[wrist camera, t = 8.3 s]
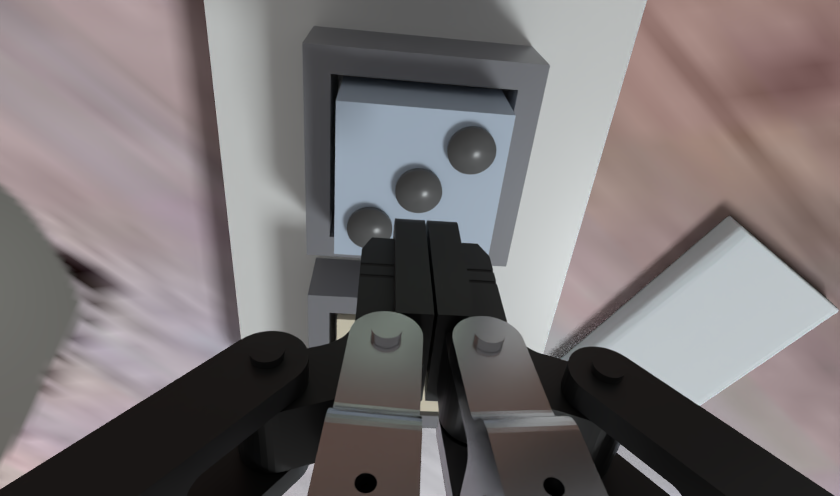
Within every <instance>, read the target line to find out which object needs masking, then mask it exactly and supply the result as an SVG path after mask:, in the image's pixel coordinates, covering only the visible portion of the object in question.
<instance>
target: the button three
mask: <svg viewBox="0 0 840 496" xmlns="http://www.w3.org/2000/svg"><path fill="white" fill-rule="evenodd" d="M515 117H516V115H515V113H514V111H513V110H512V108H511V106H510V104H509V102H508V101H507V99H506V97H505V95H504V93H503V92H502V90H501V89H489V88H478V87H466V86H454V85H443V84H431V83H420V82H408V81H396V80H385V79H373V78H362V77H350V76H343V79H342V83H341V86H340V89H339V92H338V95H337V99H336V129H335V215H334V254H344V255H361V253H362V248H363V247H364V246H365V245H366V244H367V242H368V241H369V240H370V239H371V238H372V237H374V238H391V239H393V231H394V221H395V218H398V219H414V220H425V224H426V222H427V220H431V221H446V222H457V223H458V227H459V233H460V238H461V243H474V244H478V245H479V246H480V247H481V248H482V249H483V250H484V251H485V252H486V253H487V254H488V255H489V250H490V245H491V240H492V235H493V230H494V225H495V220H496V214H497V209H498V204H499V199H500V194H501V189H502V184H503V179H504V173H505V168H506V163H507V158H508V153H509V148H510V143H511V138H512V132H513V127H514V122H515Z"/></svg>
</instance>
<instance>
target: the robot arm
mask: <svg viewBox="0 0 840 496" xmlns="http://www.w3.org/2000/svg"><path fill="white" fill-rule="evenodd" d="M424 390H425V401H438V409H439V416H438V422H437V428H436V437H437V443H438V449H439V455H440V461H441V467H442V473H443V479H444V485H445V491H446V496H670V495H669V494H668V493H666V492H665V491H664V490H663V489H661V488H660V487H659V486H658V485H656V484H655V483H654V482H653V481H651V480H650V479H649V478H648V477H646V476H645V475H644V474H643V473H641V472H640V471H639V470H638V469H636V468H635V467H634V466H633V465H631V464H630V463H629V462H628V461H626V460H625V459H624V458H623V457H621V456H620V455H619V454H618V453H616V452H617V450H618V448H619V446H620V444H621V445H622V446H624V447H625V448H626V449H627V450H629V451H630V452H631V453H633V454H634V455H635V456H636V457H638V458H639V459H640V460H641V461H643V462H644V463H645V464H647V465H648V466H649V467H650V468H652V469H653V470H654V471H655V472H657V473H658V474H659V475H661V476H662V477H663V478H664V479H666V480H667V481H668V482H670V483H671V484H672V485H673V486H674V487H675V488H676V489H677V490H678V491H679V492H680V494H681V495H682V496H834V495H832V494H831V493H829V492H828V491H826V490H825V489H823V488H822V487H820V486H819V485H817V484H816V483H814V482H813V481H811V480H810V479H808V478H807V477H805V476H804V475H802V474H801V473H799V472H798V471H796V470H795V469H793V468H792V467H790V466H789V465H787V464H786V463H784V462H783V461H781V460H780V459H778V458H777V457H775V456H774V455H772V454H771V453H769V452H768V451H766V450H765V449H763V448H762V447H760V446H759V445H757V444H756V443H754V442H753V441H751V440H750V439H748V438H747V437H745V436H744V435H742V434H741V433H739V432H738V431H736V430H735V429H733V428H732V427H730V426H729V425H727V424H726V423H724V422H723V421H721V420H720V419H718V418H717V417H715V416H714V415H712V414H711V413H709V412H708V411H706V410H705V409H703V408H702V407H700V406H699V405H697V404H696V403H694V402H693V401H691V400H690V399H688V398H687V397H685V396H684V395H682V394H681V393H679V392H678V391H676V390H675V389H673V388H672V387H670V386H669V385H667V384H666V383H664V382H663V381H661V380H660V379H658V378H657V377H655V376H654V375H652V374H651V373H649V372H648V371H646V370H645V369H643V368H642V367H640V366H639V365H637V364H636V363H634V362H633V361H631V360H630V359H628V358H627V357H625V356H623V355H622V354H620V353H618V352H616V351H613V350H610V349H607V348H603V347H596V346H589V347H583V348H580V349H578V350H576V351H574V352H573V353H572V354H571V356H570V357H569V360H568V361H565V360H562V359H558V358H554V357H551V356H547V355H544V354H541V353H538V352H536V351H534V350H531V349H530V348H528V347H526V344H525V342H524V339H523V337H522V336H521V334H520V333H519V332H518V330H516V329H515V328H514V327H513V326H512V325H510V324H509V323H507V319H506V316H505V312H504V308H503V305H502V301H501V297H500V293H499V290H498V286H497V284H496V279H495V275H494V273H493V268H492V264H491V260H490V256H489V255H488V254H487V253H486V252H485V251H484V250H483V249H482V248H481V247H480V246H479V245H478V244H474V243H461V238H460V233H459V227H458V223H457V222H446V221H431V220H427V222H426V224H425V220H414V219H398V218H395V221H394V231H393V239H391V238H374V237H372V238H371V239H370V240H369V241H368V242H367V244H366V245H365V246H364V247H363V248H362V253H361V265H360V275H359V286H358V296H357V307H356V318H355V322H354V323H353V325H352V326H351V328H350V331H349V332H348V333H347V334H346V335H344V336H343V337H342V338H340V339H338V340H336V341H334V342H331V343H329V344H325V345H321V346H316V347H311V348H307V347H306V345H305V344H304V343H303V342H302V340H300V339H299V338H298V337H296V336H294V335H292V334H289V333H286V332H281V331H264V332H258V333H254V334H252V335H249V336H247V337H245V338H243V339H241V340H239V341H238V342H236V343H235V344H233V345H231V346H230V347H228V348H227V349H225V350H223V351H222V352H220V353H219V354H217V355H215V356H214V357H212V358H211V359H209V360H207V361H206V362H204V363H202V364H201V365H199V366H198V367H196V368H194V369H193V370H191V371H190V372H188V373H186V374H185V375H183V376H182V377H180V378H178V379H177V380H175V381H174V382H172V383H170V384H169V385H167V386H166V387H164V388H162V389H161V390H159V391H158V392H156V393H154V394H153V395H151V396H150V397H148V398H146V399H145V400H143V401H141V402H140V403H138V404H137V405H135V406H133V407H132V408H130V409H129V410H127V411H125V412H124V413H122V414H121V415H119V416H117V417H116V418H114V419H113V420H111V421H109V422H108V423H106V424H105V425H103V426H101V427H100V428H98V429H97V430H95V431H93V432H92V433H90V434H89V435H87V436H85V437H84V438H82V439H80V440H79V441H77V442H76V443H74V444H72V445H71V446H69V447H68V448H66V449H64V450H63V451H61V452H60V453H58V454H56V455H55V456H53V457H52V458H50V459H48V460H47V461H45V462H44V463H42V464H40V465H39V466H37V467H36V468H34V469H32V470H31V471H29V472H27V473H26V474H24V475H23V476H21V477H19V478H18V479H16V480H15V481H13V482H11V483H10V484H8V485H7V486H5V487H3V488H2V489H0V496H282V495H283V494H284V493H285V492H286V491H287V490H288V489H289V488H290V487H291V486H292V485H293V484H295V483H296V482H297V481H298V480H299V479H300V478H301V477H302V476H303V474H304V473H305V472H306V470H307V468H308V466H309V464H313V463H315V464H314V469H313V473H312V477H311V482H310V486H309V490H308V495H307V496H420V472H421V445H422V416H420V402H421V401H422V398H423V391H424Z"/></svg>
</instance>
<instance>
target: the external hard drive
mask: <svg viewBox="0 0 840 496" xmlns="http://www.w3.org/2000/svg"><path fill="white" fill-rule="evenodd" d="M838 311H839V309H838V308H837V307H836V306H835V305H833V304H832V303H831V302H830V301H829V300H828V299H827V298H826V297H825V296H823V295H822V294H821V293H820V292H819V291H818V290H816V289H815V288H814V287H813V286H812V285H810V284H809V283H808V282H807V281H806V280H805V279H803V278H802V277H801V276H800V275H799V274H798V273H796V272H795V271H794V270H793V269H792V268H790V267H789V266H788V265H787V264H786V263H785V262H783V261H782V260H781V259H780V258H779V257H778V256H776V255H775V254H774V253H773V252H772V251H771V250H769V249H768V248H767V247H766V246H765V245H764V244H762V243H761V242H760V241H759V240H758V239H756V238H755V237H754V236H753V235H752V234H751V233H750V232H748V231H747V230H746V229H745V228H744V227H743V226H741V225H740V224H739V223H738V222H737V221H736V220H734V219H733V218H732V217H731V216H728V217H726V218H725V219H724V220H723V221H722V222H720V223H719V224H718V225H717V226H716V227H715V228H713V229H712V230H711V231H710V232H709V233H708V234H706V235H705V236H704V237H703V238H702V239H700V240H699V241H698V242H697V243H696V244H695V245H693V246H692V247H691V248H690V249H689V250H688V251H686V252H685V253H684V254H683V255H682V256H681V257H679V258H678V259H677V260H676V261H675V262H674V263H672V264H671V265H670V266H669V267H668V268H666V269H665V270H664V271H663V272H662V273H661V274H659V275H658V276H657V277H656V278H655V279H653V280H652V281H651V282H650V283H649V284H648V285H646V286H645V287H644V288H643V289H642V290H640V291H639V292H638V293H637V294H636V295H635V296H634V297H632V298H631V299H630V300H629V301H628V302H626V303H625V304H624V305H623V306H622V307H620V308H619V309H618V310H617V311H616V312H615V313H613V314H612V315H611V316H610V317H609V318H608V319H606V320H605V321H604V322H603V323H602V324H601V325H599V326H598V327H597V328H596V329H595V330H594V331H592V332H591V333H590V334H589V335H588V336H586V337H585V338H584V339H583V340H582V341H581V342H579V343H578V344H577V345H576V346H575V347H574V348H572V349H571V350H570V351H569V352H568V353H566V354H565V355H564V356H563V357H562V358H561V359H562V360H565V361H568V360H569V357H570V356H571V354H572V353H573V352H574V351H576V350H578V349H580V348H583V347H589V346H596V347H603V348H607V349H610V350H613V351H616V352H618V353H620V354H622V355H623V356H625V357H627V358H628V359H630V360H631V361H633V362H634V363H636V364H637V365H639V366H640V367H642V368H643V369H645V370H646V371H648V372H649V373H651V374H652V375H654V376H655V377H657V378H658V379H660V380H661V381H663V382H664V383H666V384H667V385H669V386H670V387H672V388H673V389H675V390H676V391H678V392H679V393H681V394H682V395H684V396H685V397H687V398H688V399H690V400H691V401H693V402H694V403H696V404H697V405H699V406H700V405H702V404H703V403H705V402H706V401H708V400H709V399H710V398H712V397H713V396H715V395H716V394H718V393H719V392H721V391H722V390H724V389H725V388H727V387H728V386H730V385H731V384H733V383H734V382H736V381H737V380H738V379H740V378H741V377H743V376H744V375H746V374H747V373H749V372H750V371H752V370H753V369H755V368H756V367H758V366H759V365H761V364H762V363H764V362H765V361H767V360H768V359H770V358H771V357H772V356H774V355H775V354H777V353H778V352H780V351H781V350H783V349H784V348H786V347H787V346H788V345H790V344H791V343H793V342H794V341H796V340H797V339H799V338H800V337H802V336H803V335H805V334H806V333H807V332H809V331H810V330H812V329H813V328H815V327H816V326H818V325H819V324H820V323H822V322H823V321H825V320H826V319H828V318H829V317H831V316H832V315H834V314H835V313H837V312H838Z"/></svg>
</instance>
